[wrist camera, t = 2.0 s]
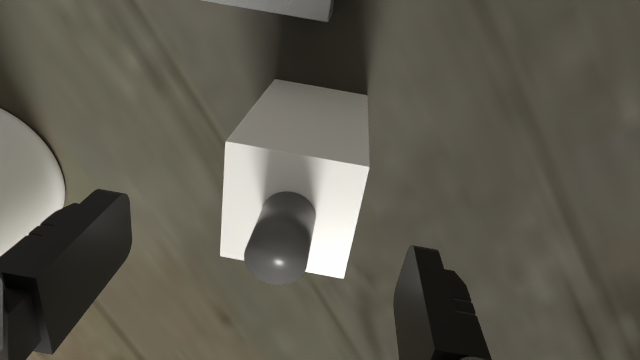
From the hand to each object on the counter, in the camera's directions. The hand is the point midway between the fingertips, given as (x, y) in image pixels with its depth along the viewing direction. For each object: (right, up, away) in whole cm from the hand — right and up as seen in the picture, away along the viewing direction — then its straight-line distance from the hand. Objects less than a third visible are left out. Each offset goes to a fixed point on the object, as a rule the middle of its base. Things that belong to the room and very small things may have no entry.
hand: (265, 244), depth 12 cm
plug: (+1, +4, +9) cm, 10 cm away
